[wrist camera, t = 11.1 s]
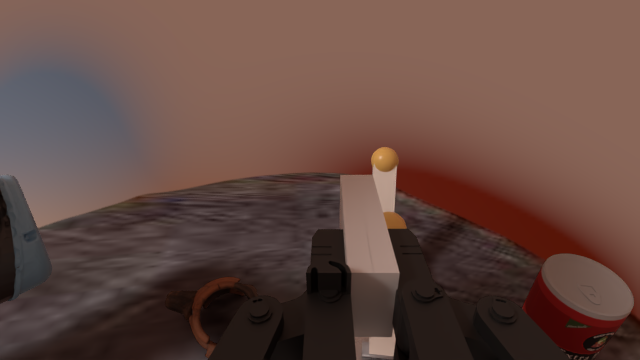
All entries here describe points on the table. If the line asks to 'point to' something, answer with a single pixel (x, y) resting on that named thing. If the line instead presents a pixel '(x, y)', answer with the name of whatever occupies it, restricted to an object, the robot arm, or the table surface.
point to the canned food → (578, 304)
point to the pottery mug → (205, 304)
